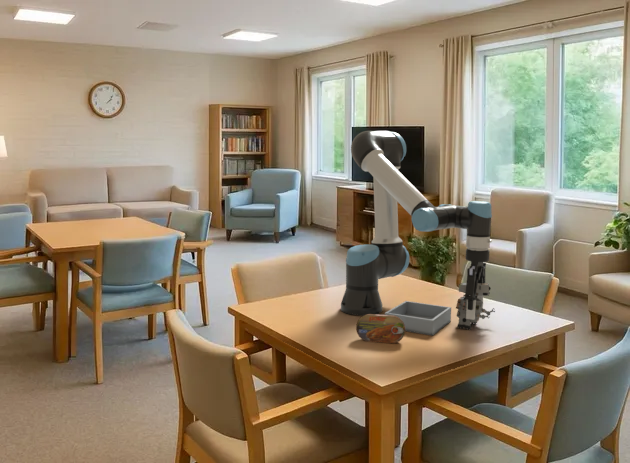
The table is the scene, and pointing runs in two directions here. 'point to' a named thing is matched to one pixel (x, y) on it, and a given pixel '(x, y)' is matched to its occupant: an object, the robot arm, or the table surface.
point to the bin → (422, 317)
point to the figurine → (462, 306)
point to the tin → (380, 328)
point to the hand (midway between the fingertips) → (474, 315)
